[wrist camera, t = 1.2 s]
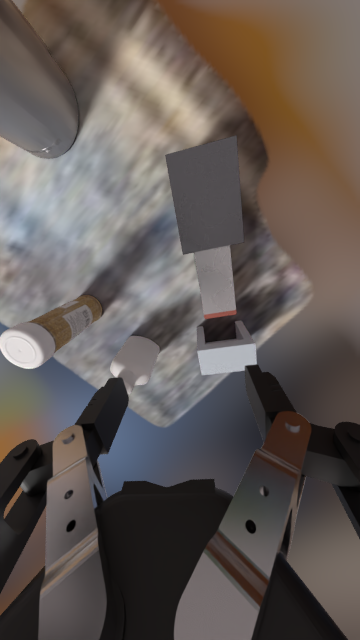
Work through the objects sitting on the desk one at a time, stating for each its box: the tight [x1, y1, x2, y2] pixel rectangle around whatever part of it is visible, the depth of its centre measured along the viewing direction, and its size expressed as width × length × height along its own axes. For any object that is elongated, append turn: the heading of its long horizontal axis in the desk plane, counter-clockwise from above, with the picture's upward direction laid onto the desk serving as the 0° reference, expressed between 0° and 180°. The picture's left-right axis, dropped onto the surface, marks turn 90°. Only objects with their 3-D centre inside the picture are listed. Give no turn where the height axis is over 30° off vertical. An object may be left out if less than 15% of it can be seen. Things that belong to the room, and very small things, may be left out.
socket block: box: [197, 321, 257, 375], centre depth 28 cm, size 4×7×8 cm, turn 101°
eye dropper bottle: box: [110, 336, 160, 395], centre depth 27 cm, size 4×6×12 cm
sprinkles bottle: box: [0, 295, 102, 369], centre depth 25 cm, size 5×5×14 cm
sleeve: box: [165, 135, 244, 255], centre depth 22 cm, size 9×6×7 cm
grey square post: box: [194, 245, 236, 319], centre depth 24 cm, size 16×4×5 cm, turn 11°
